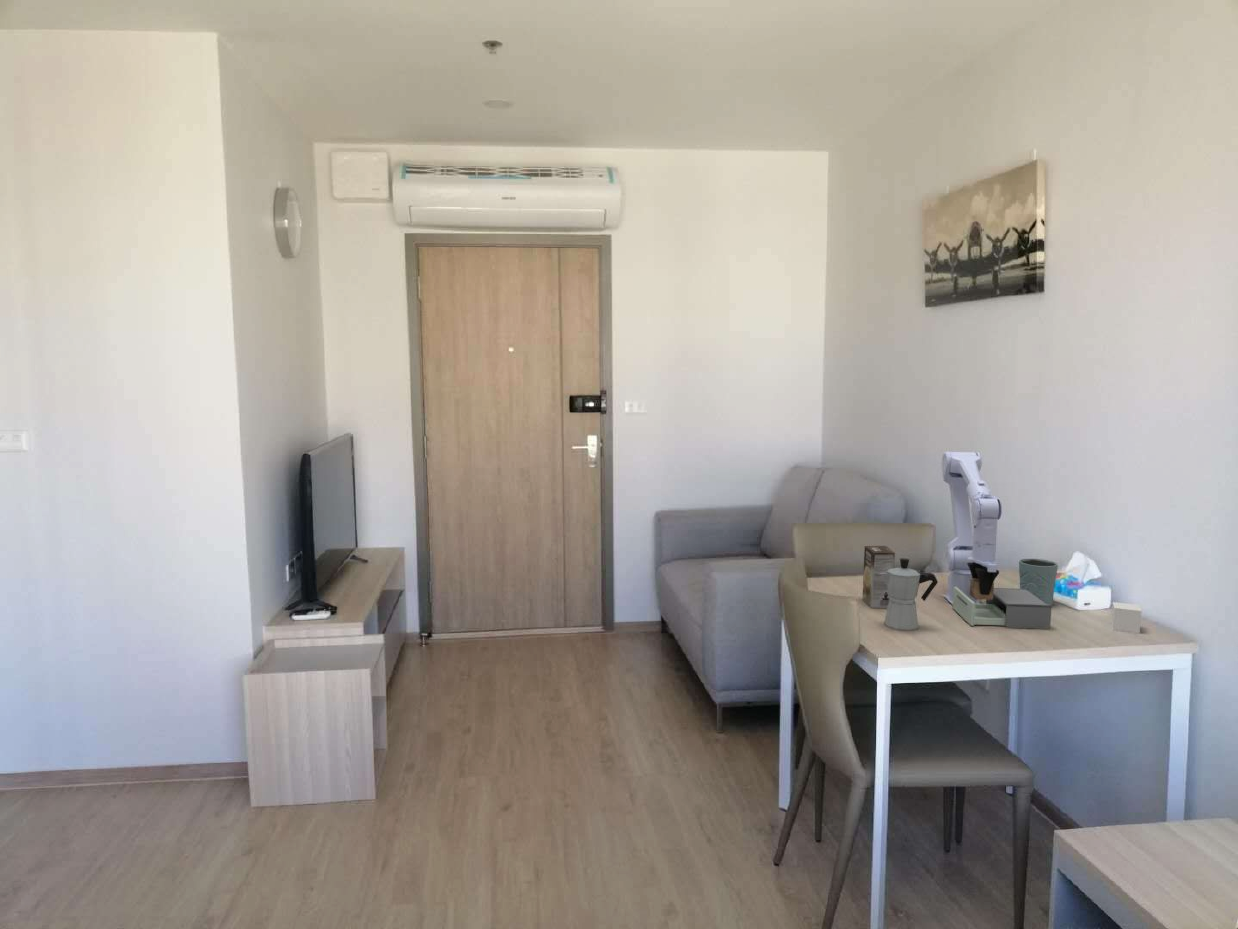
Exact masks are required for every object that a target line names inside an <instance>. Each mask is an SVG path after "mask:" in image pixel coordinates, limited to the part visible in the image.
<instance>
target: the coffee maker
mask: <svg viewBox="0 0 1238 929" xmlns="http://www.w3.org/2000/svg"><path fill="white" fill-rule="evenodd" d="M899 562H900V567H894V568H892V569H889V570H888V571H886V572H882V573H879V574H880V575H881V576H882V578H883V580H884V582H885V584H886V586H887V588H888V594H889V596H890V599H889V604H888V608H886V614H885V618H884V625H885V627H886V628H889V629H892V630H895V631H909V632H911V631H912V632H913V631H915V630H917V629H919V620H918V612H917V604H916V601H915V600H916V598H918V597H917V596H918V592H919V588H920V584H923V583H926V582H929V581H931V583H930V584H929V586H928V587H927V588H926V590H925V591H924V593H923V594H922V595H921V597H920V598H921V600H922V601H923V602H925V601H926V600H927V598H928V597H929V595H930V594H931V593H932V591H933V590H934V589H935V587H936V586H937V585H938V582H939V581H938V579H937V577H936V575H935V574H934V573H932V572H926V571H925V570H923V569H918V570H916V569H912V568H909V563H910V558H909V559H908V558H905V557H904V558H902V557H901V558H900V559H899Z"/></svg>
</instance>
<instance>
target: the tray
mask: <svg viewBox="0 0 1238 929" xmlns="http://www.w3.org/2000/svg"><path fill="white" fill-rule="evenodd" d="M952 609H953V610H955V612H957V614H958V615H959V616H960V617H961V618H962V619H964V620H965V621H966V622H967V623H968V624H969V625H970V626H973V627H974V626H975V625H980V626H981V625H983V626H1005V622H1006V611H1002V610H1001V609H1000V608H999V607H997V606H996V605H995V604H986V603H980V604H975V603H974V602H973V601H972V600H971V599H970V598H969V597H968V596H966V595H965V594H964V593H963V592H962V591H961V590H959V589H958V588H957V587H954V592H953V605H952Z"/></svg>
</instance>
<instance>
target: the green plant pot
mask: <svg viewBox="0 0 1238 929" xmlns="http://www.w3.org/2000/svg"><path fill="white" fill-rule="evenodd" d="M1058 566H1059V564H1058V563H1057V562H1055V561H1052V560H1047V559H1042V558H1041V559H1040V558H1039V559H1038V558H1022V559H1020V560H1018V573H1019V589H1028V590H1030V591H1031V592H1033V593H1034V594H1035V595H1037V596H1038V597H1040V598H1041V599H1043V600H1044V601H1046V602H1047V603H1049V604H1050V605H1051V606H1053V605H1054V596H1055V594H1054V593H1055V584H1056V579H1057V573H1058V568H1059V567H1058Z"/></svg>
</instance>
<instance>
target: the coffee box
mask: <svg viewBox="0 0 1238 929" xmlns="http://www.w3.org/2000/svg"><path fill="white" fill-rule="evenodd" d="M863 551H864V552H863V554H864V555H863V578H862V579H863V580H862V600H863V602H865V603H866V604H867V605H868V606H869V607H870V608H871V609H887V608H888V604H889V599H890V596H889V594H888V588H887V586H886V584H885V582H884V580H883V578H882V576H881V575H880V574H879V573H882V572H886V571H888V570H889V569H892V568H895V562H896V552H895V551H893V550H892V549H890V548H889V547H888V546H886V545H865V546H864V550H863Z"/></svg>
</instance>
